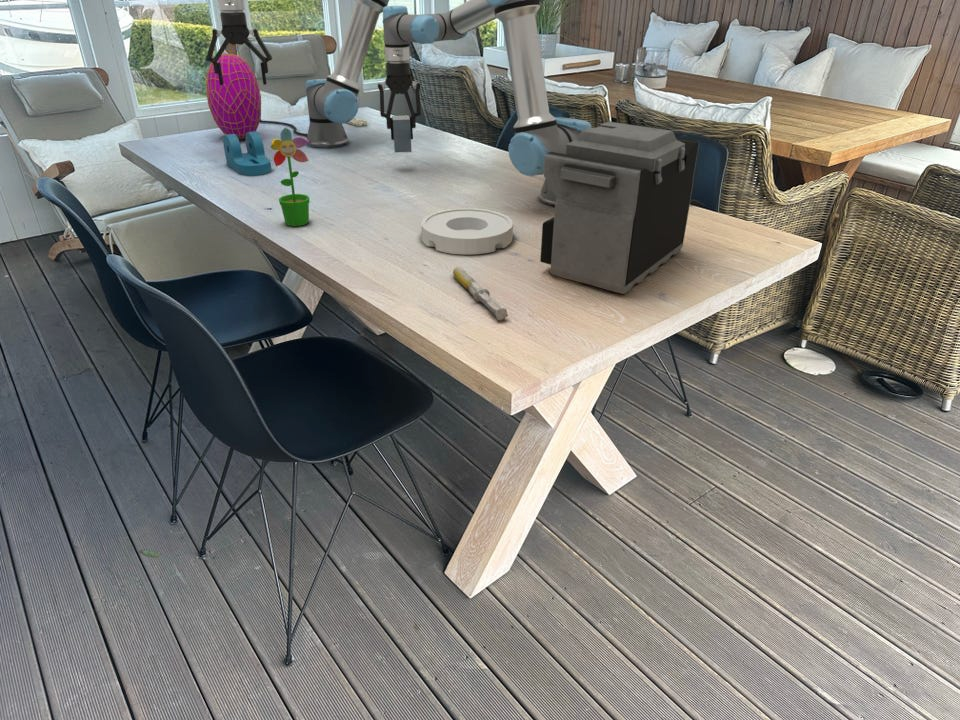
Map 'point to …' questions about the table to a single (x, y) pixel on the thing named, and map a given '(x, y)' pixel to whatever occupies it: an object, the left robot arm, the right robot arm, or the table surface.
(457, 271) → the syringe
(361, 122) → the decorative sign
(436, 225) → the ashtray
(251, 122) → the decorative egg
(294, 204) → the potted flower
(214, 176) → the table surface
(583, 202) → the electronic device
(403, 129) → the block
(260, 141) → the camera mount
